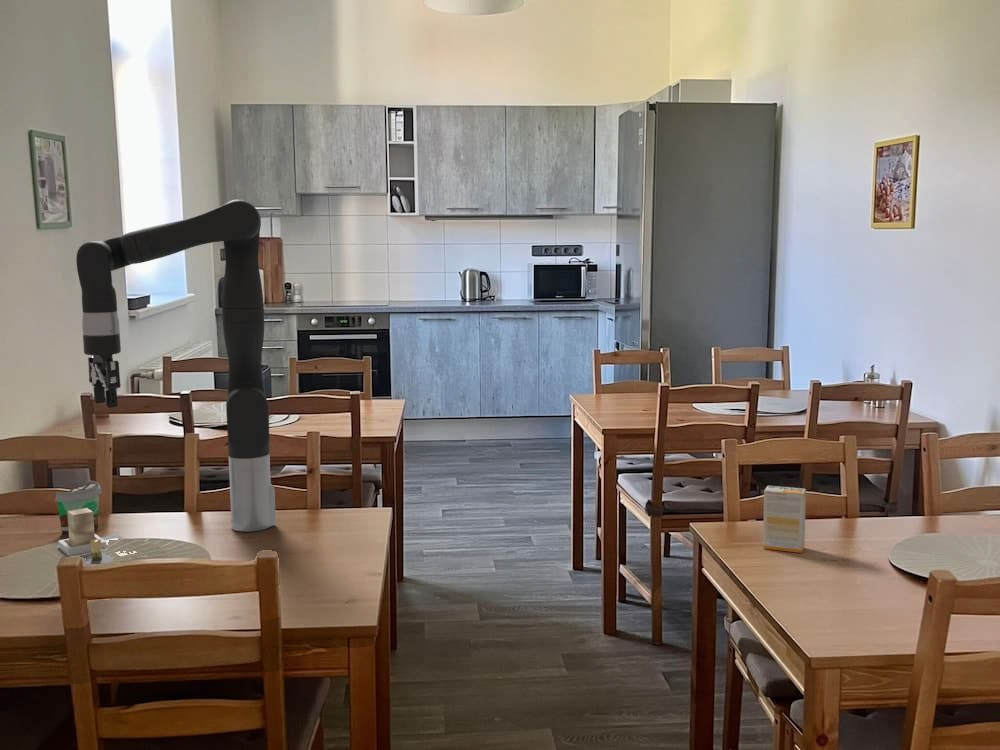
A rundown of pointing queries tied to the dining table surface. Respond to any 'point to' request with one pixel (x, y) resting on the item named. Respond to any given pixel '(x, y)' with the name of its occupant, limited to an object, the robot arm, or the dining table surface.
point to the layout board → (86, 550)
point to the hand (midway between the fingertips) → (105, 405)
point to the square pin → (80, 527)
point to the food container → (78, 502)
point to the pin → (96, 550)
